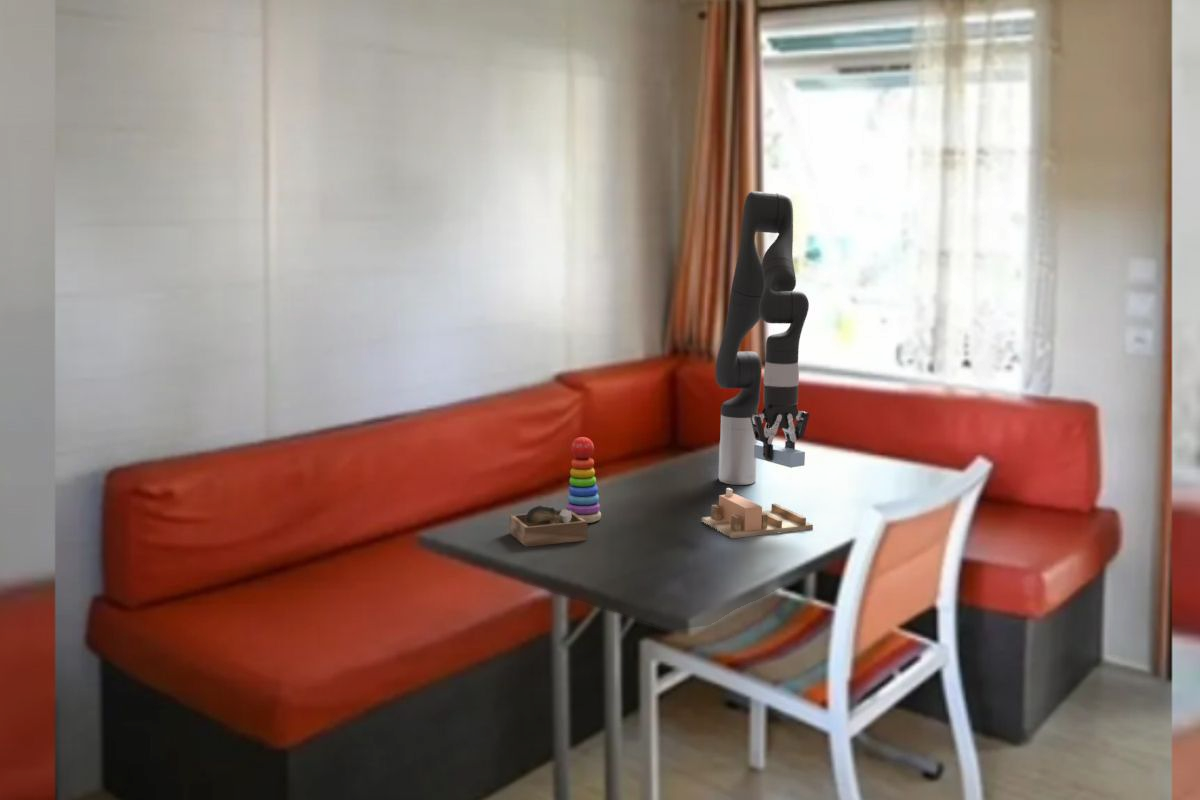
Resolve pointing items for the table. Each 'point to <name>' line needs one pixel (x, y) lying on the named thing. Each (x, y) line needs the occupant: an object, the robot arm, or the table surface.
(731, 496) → the knobbed wooden block
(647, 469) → the table surface
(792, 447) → the robot arm
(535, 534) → the open wooden box
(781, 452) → the light blue rectangular block
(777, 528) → the jig
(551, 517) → the eagle figurine
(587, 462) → the stacking toy
